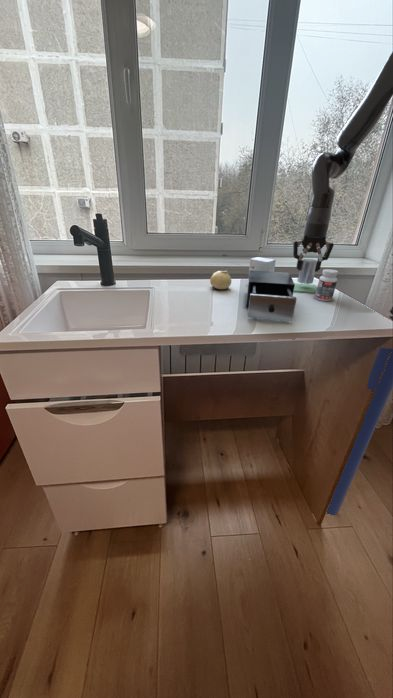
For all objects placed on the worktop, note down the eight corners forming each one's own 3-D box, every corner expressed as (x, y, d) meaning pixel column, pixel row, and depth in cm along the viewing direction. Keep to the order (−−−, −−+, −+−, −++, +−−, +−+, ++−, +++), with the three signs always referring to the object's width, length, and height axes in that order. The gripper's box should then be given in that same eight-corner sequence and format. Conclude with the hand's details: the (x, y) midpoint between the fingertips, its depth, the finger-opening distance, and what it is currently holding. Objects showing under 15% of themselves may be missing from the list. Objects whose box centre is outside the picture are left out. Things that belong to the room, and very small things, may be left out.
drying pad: (314, 286, 115) (315, 284, 114) (319, 293, 106) (320, 292, 106) (289, 284, 116) (289, 282, 116) (292, 291, 108) (292, 290, 107)
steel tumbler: (311, 280, 112) (316, 259, 108) (314, 284, 107) (319, 262, 103) (296, 279, 113) (300, 258, 109) (298, 283, 108) (302, 261, 104)
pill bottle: (320, 302, 98) (327, 273, 93) (311, 296, 103) (317, 268, 98) (335, 301, 99) (343, 272, 94) (325, 295, 104) (332, 268, 99)
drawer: (292, 323, 79) (297, 299, 76) (247, 319, 81) (250, 296, 78) (287, 305, 92) (290, 284, 89) (248, 302, 94) (250, 281, 90)
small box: (272, 287, 112) (276, 259, 107) (264, 290, 108) (268, 261, 103) (255, 283, 117) (258, 256, 112) (247, 285, 113) (250, 258, 108)
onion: (213, 291, 105) (214, 272, 102) (207, 285, 112) (208, 267, 109) (233, 290, 107) (235, 271, 104) (226, 284, 114) (228, 266, 110)
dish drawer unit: (289, 311, 90) (294, 284, 85) (246, 308, 92) (248, 281, 87) (285, 296, 102) (289, 272, 98) (246, 293, 104) (249, 270, 100)
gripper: (297, 222, 97) (288, 271, 105) (342, 223, 95) (329, 274, 103) (295, 220, 104) (286, 267, 112) (336, 221, 102) (325, 269, 110)
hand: (307, 270), depth 108 cm, fingers closed on steel tumbler, 5 cm apart
